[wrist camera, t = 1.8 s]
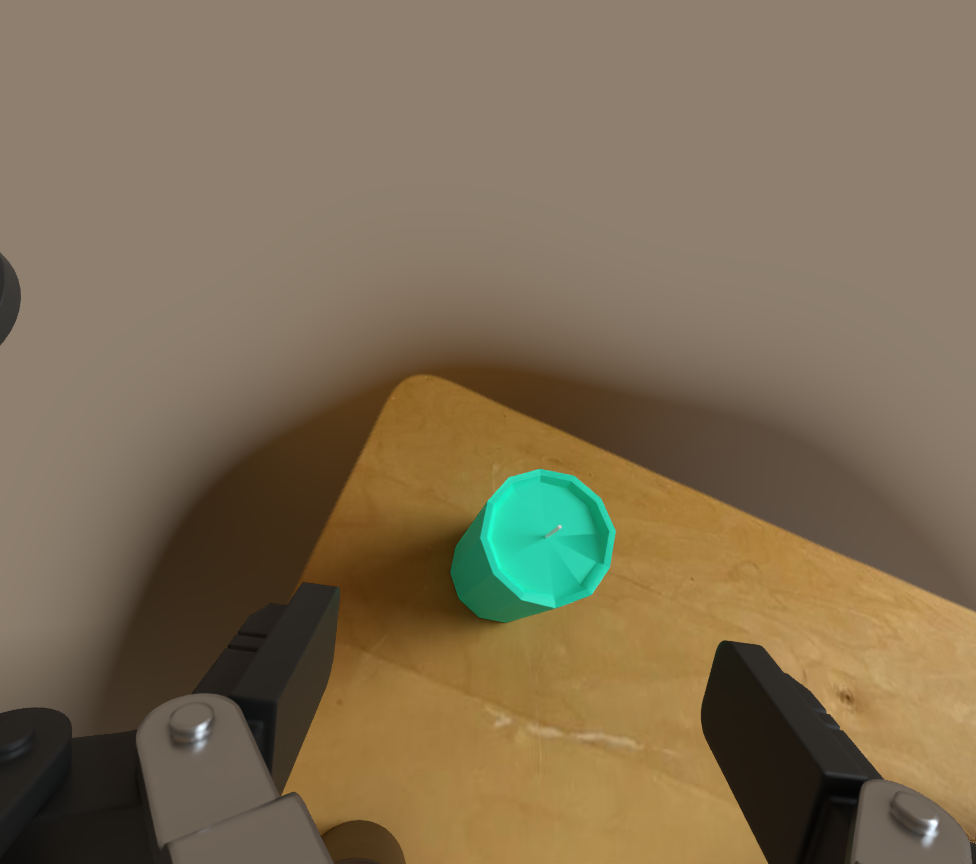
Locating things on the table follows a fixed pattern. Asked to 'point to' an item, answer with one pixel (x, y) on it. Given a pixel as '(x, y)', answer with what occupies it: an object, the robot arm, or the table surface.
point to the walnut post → (362, 844)
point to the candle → (533, 547)
